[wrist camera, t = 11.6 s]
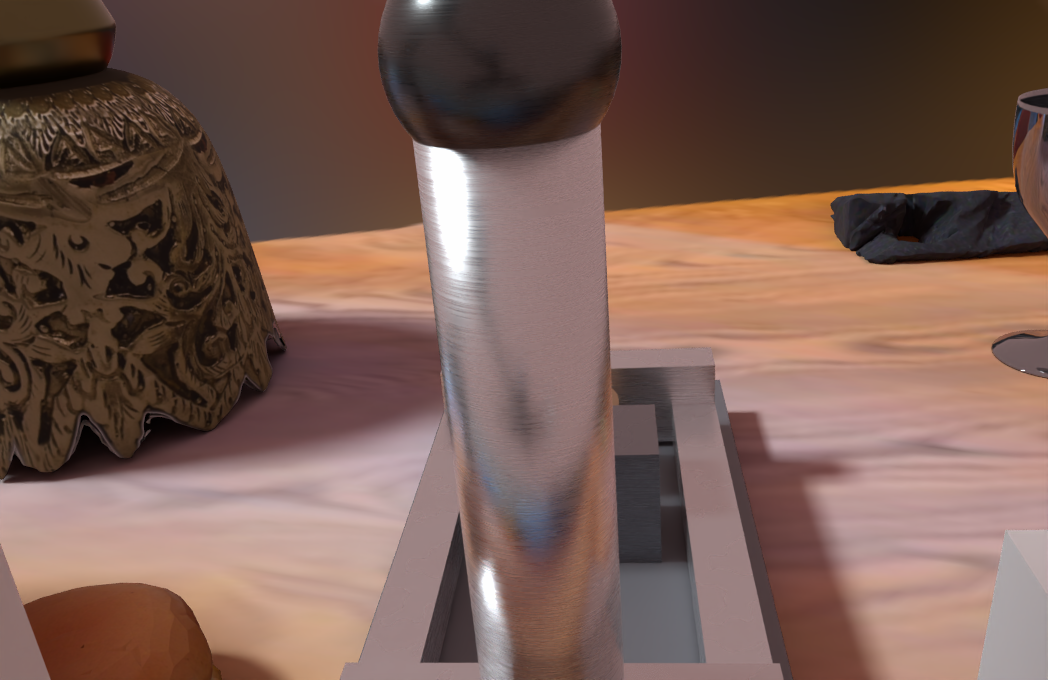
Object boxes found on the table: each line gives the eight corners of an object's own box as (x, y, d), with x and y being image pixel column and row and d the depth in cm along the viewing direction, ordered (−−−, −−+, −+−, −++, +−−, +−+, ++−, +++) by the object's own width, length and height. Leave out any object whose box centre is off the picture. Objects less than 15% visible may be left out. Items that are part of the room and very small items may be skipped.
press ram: (325, 849, 26) (112, -48, 16) (455, 426, 48) (395, -62, 38) (801, 860, 24) (864, -113, 15) (710, 419, 46) (712, -89, 37)
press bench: (314, 870, 28) (303, 824, 27) (455, 419, 53) (451, 388, 52) (827, 884, 26) (830, 834, 25) (719, 411, 52) (719, 380, 51)
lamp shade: (7, 337, 71) (-107, -7, 61) (306, 307, 72) (242, -36, 62) (-179, 506, 50) (-401, 21, 40) (249, 459, 51) (139, -25, 41)
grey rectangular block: (487, 564, 37) (475, 458, 35) (498, 508, 41) (488, 409, 39) (661, 562, 37) (659, 454, 35) (656, 505, 40) (654, 404, 38)
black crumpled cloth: (1161, 264, 68) (1174, 201, 66) (850, 272, 71) (855, 213, 69) (1075, 206, 82) (1084, 153, 80) (819, 215, 85) (821, 165, 83)
